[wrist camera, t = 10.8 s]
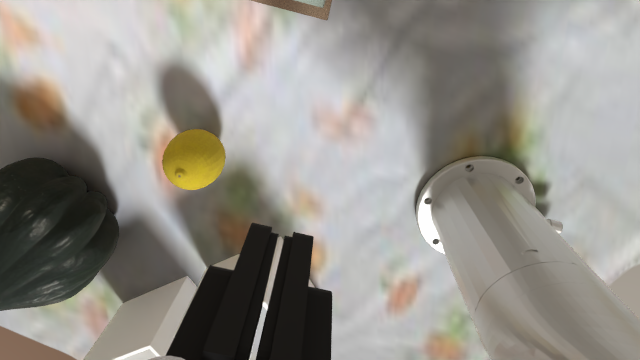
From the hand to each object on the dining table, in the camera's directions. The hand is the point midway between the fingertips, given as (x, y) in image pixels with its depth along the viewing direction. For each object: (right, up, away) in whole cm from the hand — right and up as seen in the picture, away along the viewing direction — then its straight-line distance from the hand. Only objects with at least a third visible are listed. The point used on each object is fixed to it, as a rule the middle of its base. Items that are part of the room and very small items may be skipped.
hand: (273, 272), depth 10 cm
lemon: (-11, +6, +30) cm, 33 cm away
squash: (-28, -1, +34) cm, 44 cm away
